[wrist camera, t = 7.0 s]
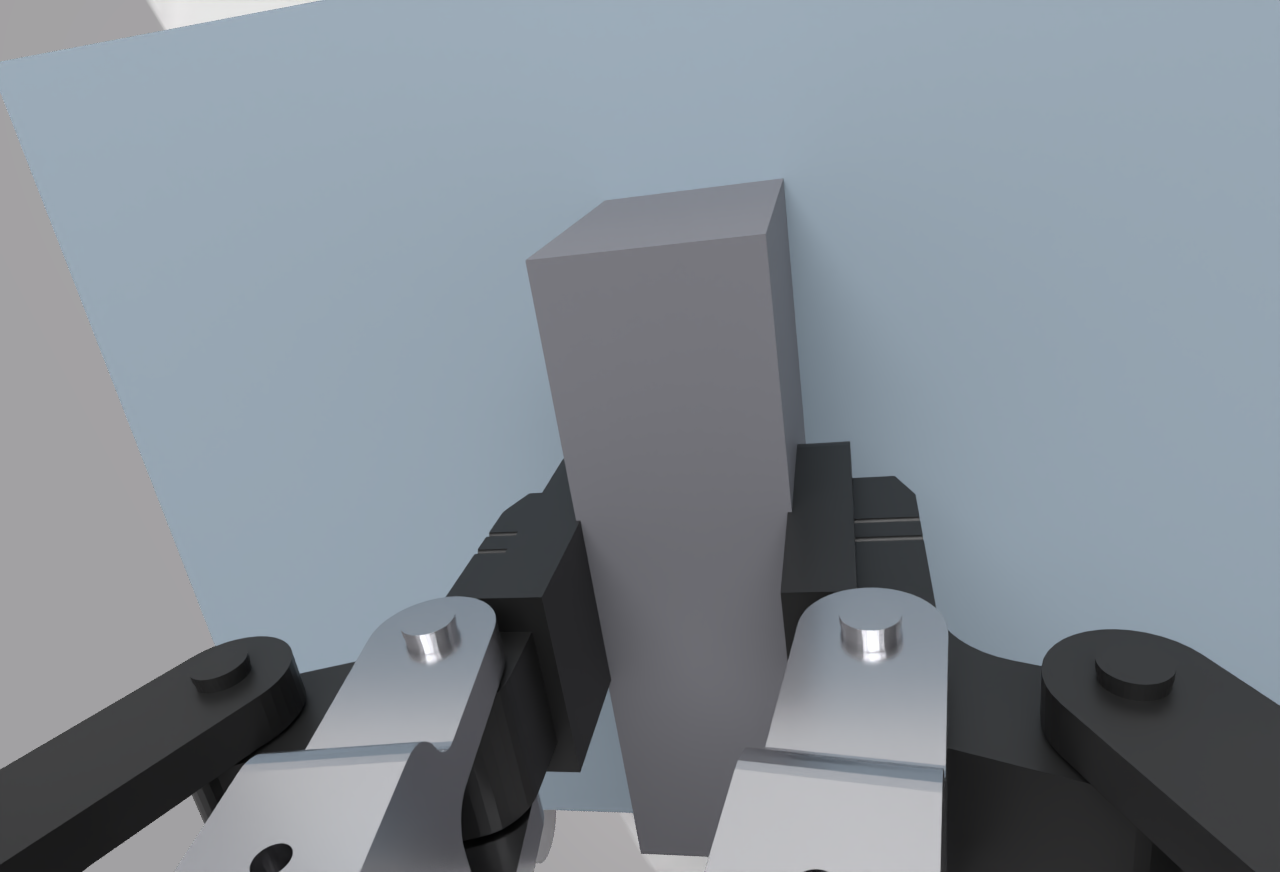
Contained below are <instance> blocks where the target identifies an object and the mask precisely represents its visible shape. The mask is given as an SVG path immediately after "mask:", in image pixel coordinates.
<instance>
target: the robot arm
mask: <svg viewBox="0 0 1280 872" xmlns="http://www.w3.org/2000/svg"><path fill="white" fill-rule="evenodd" d="M780 593H781V603H782V613H783V622H784V632H785V642H786V651H787V661H788V663H787V666H786V670H785V674H784V678H783V682H782V685H781V689H780V693H779V697H778V701H777V704H776V708H775V712H774V716H773V720H772V723H771V727H770V731H769V735H768V738H767V742H766V746H765V749H759V748H749V747H746V748H745V749H744V750H743V751H742V753H741V754H740V756H739V759H738V761H737V764H736V767H735V770H734V773H733V777H732V780H731V783H730V787H729V790H728V794H727V797H726V800H725V804H724V807H723V811H722V814H721V817H720V821H719V824H718V827H717V831H716V834H715V838H714V841H713V844H712V848H711V851H710V854H709V858H708V861H707V865H706V868H705V871H704V872H1280V705H1278V704H1277V703H1275V702H1274V701H1272V700H1271V699H1269V698H1268V697H1266V696H1265V695H1263V694H1262V693H1260V692H1259V691H1257V690H1256V689H1254V688H1253V687H1251V686H1250V685H1248V684H1247V683H1245V682H1243V681H1242V680H1240V679H1239V678H1237V677H1236V676H1234V675H1233V674H1231V673H1230V672H1228V671H1227V670H1225V669H1224V668H1222V667H1221V666H1219V665H1218V664H1216V663H1215V662H1213V661H1212V660H1210V659H1209V658H1207V657H1206V656H1204V655H1202V654H1201V653H1199V652H1197V651H1196V650H1194V649H1192V648H1190V647H1188V646H1186V645H1184V644H1181V643H1179V642H1177V641H1174V640H1171V639H1168V638H1165V637H1162V636H1158V635H1154V634H1150V633H1146V632H1140V631H1133V630H1121V629H1101V630H1093V631H1086V632H1082V633H1078V634H1074V635H1072V636H1069V637H1067V638H1064V639H1063V640H1061V641H1059V642H1058V643H1056V644H1055V645H1054V646H1053V647H1052V648H1050V649H1049V650H1048V652H1047V653H1046V655H1045V657H1044V658H1043V663H1042V666H1039V665H1034V664H1029V663H1024V662H1019V661H1014V660H1009V659H1005V658H1001V657H997V656H994V655H991V654H988V653H985V652H982V651H980V650H978V649H976V648H974V647H971V646H969V645H968V644H966V643H964V642H963V641H961V640H959V639H958V638H957V637H956V636H954V635H953V634H952V633H951V632H950V631H949V630H948V627H947V623H946V621H945V619H944V617H943V616H942V614H941V613H940V612H939V610H937V609H936V604H935V599H934V593H933V588H932V582H931V577H930V571H929V566H928V560H927V555H926V549H925V544H924V540H923V533H922V527H921V522H920V516H919V511H918V505H917V500H916V494H915V493H914V492H912V491H911V490H910V489H909V488H908V487H907V486H906V485H905V484H903V483H902V482H901V481H900V480H899V479H898V478H897V477H895V476H882V477H861V478H852V462H851V447H850V441H844V442H827V443H809V444H797V453H796V465H795V478H794V491H793V503H792V512H788V514H787V525H786V536H785V547H784V558H783V570H782V581H781V592H780ZM610 682H611V676H610V671H609V666H608V661H607V656H606V650H605V645H604V640H603V635H602V630H601V625H600V619H599V614H598V609H597V604H596V599H595V594H594V588H593V583H592V578H591V573H590V568H589V563H588V557H587V552H586V547H585V542H584V537H583V532H582V526H581V521H576V518H575V512H574V507H573V502H572V497H571V492H570V487H569V482H568V477H567V472H566V466H565V461H564V459H563V460H562V461H561V463H560V464H559V466H558V468H557V469H556V471H555V473H554V474H553V476H552V477H551V479H550V481H549V482H548V484H547V485H546V487H545V489H544V490H543V492H542V493H529V494H528V495H526V496H525V497H523V498H522V499H520V500H519V501H518V502H516V503H515V504H513V505H512V506H511V507H509V508H508V509H506V510H505V511H504V512H503V513H502V514H501V516H500V517H499V518H498V520H497V521H496V523H495V524H494V526H493V527H492V529H491V530H490V532H489V537H486V538H485V539H484V541H483V542H482V544H481V545H480V547H479V548H478V554H474V556H473V557H472V558H471V560H470V561H469V563H468V564H467V566H466V567H465V569H464V570H463V572H462V573H461V575H460V576H459V578H458V579H457V581H456V582H455V584H454V585H453V587H452V588H451V590H450V591H449V593H448V594H447V596H446V597H443V598H437V599H432V600H428V601H424V602H421V603H418V604H415V605H413V606H411V607H408V608H406V609H404V610H402V611H400V612H398V613H396V614H395V615H393V616H392V617H390V618H388V619H387V620H386V621H385V622H383V623H382V624H381V625H380V626H379V627H378V628H377V629H376V630H375V631H374V632H373V633H372V635H371V636H370V638H369V639H368V641H367V643H366V645H365V646H364V648H363V650H362V652H361V653H360V655H359V657H358V659H357V660H356V661H355V662H351V663H346V664H341V665H337V666H332V667H328V668H323V669H318V670H314V671H309V672H304V673H299V670H298V667H297V664H296V661H295V658H294V656H293V653H292V650H291V647H290V646H289V645H288V644H287V643H286V642H285V641H283V640H281V639H278V638H275V637H268V636H255V637H246V638H241V639H236V640H233V641H229V642H226V643H223V644H220V645H217V646H215V647H212V648H210V649H208V650H205V651H203V652H201V653H199V654H197V655H196V656H194V657H192V658H190V659H188V660H187V661H185V662H183V663H182V664H180V665H178V666H177V667H175V668H173V669H172V670H170V671H168V672H166V673H165V674H163V675H162V676H160V677H158V678H156V679H154V680H153V681H151V682H149V683H147V684H146V685H144V686H142V687H141V688H139V689H137V690H136V691H134V692H132V693H130V694H129V695H127V696H125V697H124V698H122V699H120V700H118V701H117V702H115V703H113V704H112V705H110V706H108V707H107V708H105V709H103V710H101V711H100V712H98V713H96V714H95V715H93V716H91V717H89V718H88V719H86V720H84V721H82V722H81V723H79V724H77V725H76V726H74V727H72V728H71V729H69V730H67V731H66V732H64V733H62V734H60V735H59V736H57V737H55V738H53V739H52V740H50V741H48V742H47V743H45V744H43V745H41V746H40V747H38V748H36V749H35V750H33V751H31V752H30V753H28V754H26V755H25V756H23V757H21V758H19V759H18V760H16V761H14V762H12V763H11V764H9V765H8V766H6V767H4V768H2V769H0V872H82V871H84V870H85V869H86V868H87V867H89V866H90V865H91V864H93V863H94V862H95V861H97V860H99V859H100V858H101V857H103V856H104V855H106V854H107V853H109V852H110V851H112V850H113V849H114V848H116V847H117V846H119V845H120V844H122V843H123V842H124V841H126V840H127V839H129V838H130V837H132V836H133V835H135V834H136V833H137V832H139V831H140V830H142V829H143V828H145V827H146V826H147V825H149V824H150V823H152V822H153V821H155V820H156V819H158V818H159V817H160V816H162V815H163V814H165V813H166V812H168V811H169V810H170V809H172V808H173V807H175V806H176V805H178V804H179V803H181V802H182V801H183V800H185V799H186V798H188V797H189V796H190V795H192V796H193V799H194V801H195V803H196V805H197V808H198V810H199V812H200V815H201V817H202V819H203V821H204V826H203V828H202V829H201V831H200V832H199V834H198V835H197V837H196V838H195V840H194V841H193V843H192V845H191V846H190V848H189V849H188V851H187V852H186V854H185V855H184V857H183V859H182V860H181V862H180V863H179V865H178V866H177V868H176V869H175V871H174V872H534V868H535V864H536V859H537V854H538V850H539V845H540V840H541V835H542V831H543V826H544V811H543V806H542V802H541V798H540V794H539V790H540V787H541V785H542V782H543V779H544V777H545V774H546V772H581V769H582V766H583V763H584V760H585V757H586V754H587V751H588V748H589V745H590V742H591V739H592V736H593V733H594V730H595V727H596V724H597V721H598V718H599V715H600V712H601V709H602V706H603V703H604V700H605V697H606V694H607V691H608V688H609V685H610Z"/></svg>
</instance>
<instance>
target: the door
mask: <svg viewBox="0 0 1280 872" xmlns="http://www.w3.org/2000/svg"><path fill="white" fill-rule="evenodd" d="M0 93H1V95H2V98H3V100H4V103H5V105H6V108H7V110H8V113H9V116H10V118H11V121H12V123H13V126H14V129H15V131H16V133H17V136H18V139H19V142H20V144H21V147H22V149H23V152H24V154H25V157H26V160H27V162H28V165H29V167H30V170H31V172H32V175H33V178H34V180H35V183H36V185H37V188H38V190H39V193H40V196H41V198H42V201H43V203H44V206H45V209H46V211H47V214H48V216H49V219H50V221H51V224H52V227H53V229H54V232H55V234H56V237H57V239H58V242H59V245H60V247H61V250H62V252H63V255H64V257H65V260H66V262H67V265H68V268H69V270H70V273H71V275H72V278H73V281H74V283H75V285H76V288H77V291H78V294H79V296H80V299H81V301H82V304H83V306H84V309H85V312H86V314H87V316H88V319H89V322H90V325H91V327H92V330H93V332H94V335H95V337H96V340H97V343H98V345H99V348H100V350H101V353H102V355H103V358H104V361H105V363H106V366H107V368H108V371H109V373H110V376H111V379H112V381H113V384H114V386H115V389H116V391H117V394H118V397H119V399H120V401H121V404H122V407H123V410H124V412H125V414H126V417H127V420H128V422H129V425H130V428H131V430H132V433H133V435H134V438H135V440H136V443H137V445H138V448H139V451H140V453H141V456H142V458H143V461H144V464H145V466H146V469H147V471H148V474H149V476H150V479H151V482H152V484H153V487H154V489H155V492H156V495H157V497H158V500H159V502H160V505H161V507H162V510H163V513H164V515H165V518H166V520H167V523H168V525H169V528H170V530H171V533H172V536H173V538H174V541H175V543H176V546H177V549H178V551H179V554H180V556H181V559H182V562H183V564H184V567H185V569H186V572H187V574H188V577H189V580H190V582H191V585H192V587H193V590H194V592H195V595H196V597H197V600H198V603H199V605H200V608H201V610H202V613H203V616H204V618H205V621H206V623H207V626H208V629H209V631H210V634H211V636H212V639H213V641H214V644H215V646H217V645H220V644H223V643H226V642H229V641H233V640H236V639H241V638H246V637H255V636H268V637H275V638H278V639H281V640H283V641H285V642H286V643H287V644H288V645H289V646H290V647H291V650H292V653H293V656H294V658H295V661H296V664H297V667H298V670H299V673H304V672H309V671H314V670H318V669H323V668H328V667H332V666H337V665H341V664H346V663H351V662H355V661H356V660H357V659H358V657H359V655H360V653H361V652H362V650H363V648H364V646H365V645H366V643H367V641H368V639H369V638H370V636H371V635H372V633H373V632H374V631H375V630H376V629H377V628H378V627H379V626H380V625H381V624H382V623H383V622H385V621H386V620H387V619H388V618H390V617H392V616H393V615H395V614H396V613H398V612H400V611H402V610H404V609H406V608H408V607H411V606H413V605H415V604H418V603H421V602H424V601H428V600H432V599H437V598H443V597H446V596H447V594H448V593H449V591H450V590H451V588H452V587H453V585H454V584H455V582H456V581H457V579H458V578H459V576H460V575H461V573H462V572H463V570H464V569H465V567H466V566H467V564H468V563H469V561H470V560H471V558H472V557H473V556H474V554H478V548H479V547H480V545H481V544H482V542H483V541H484V539H485V538H486V537H489V532H490V530H491V529H492V527H493V526H494V524H495V523H496V521H497V520H498V518H499V517H500V516H501V514H502V513H503V512H504V511H505V510H506V509H508V508H509V507H511V506H512V505H513V504H515V503H516V502H518V501H519V500H520V499H522V498H523V497H525V496H526V495H528V494H529V493H542V492H543V490H544V489H545V487H546V485H547V484H548V482H549V481H550V479H551V477H552V476H553V474H554V473H555V471H556V469H557V468H558V466H559V464H560V463H561V461H562V460H563V459H564V461H565V466H566V472H567V477H568V482H569V487H570V492H571V497H572V502H573V507H574V512H575V518H576V521H581V526H582V532H583V537H584V542H585V547H586V552H587V557H588V563H589V568H590V573H591V578H592V583H593V588H594V594H595V599H596V604H597V609H598V614H599V619H600V625H601V630H602V635H603V640H604V645H605V650H606V656H607V661H608V666H609V671H610V676H611V682H610V685H609V688H608V691H607V694H606V697H605V700H604V703H603V706H602V709H601V712H600V715H599V718H598V721H597V724H596V727H595V730H594V733H593V736H592V739H591V742H590V745H589V748H588V751H587V754H586V757H585V760H584V763H583V766H582V769H581V772H546V774H545V777H544V779H543V782H542V785H541V787H540V790H539V794H540V798H541V802H542V806H543V811H544V826H543V831H542V835H541V840H540V845H539V850H538V854H537V859H536V863H542V862H543V861H544V860H545V859H546V857H547V856H548V854H549V851H550V848H551V845H552V841H553V836H554V830H555V821H556V810H571V811H598V812H626V813H633V814H634V819H635V825H636V830H637V835H638V840H639V845H640V850H641V854H663V855H684V856H706V857H709V854H710V851H711V848H712V844H713V841H714V838H715V834H716V831H717V827H718V824H719V821H720V817H721V814H722V811H723V807H724V804H725V800H726V797H727V794H728V790H729V787H730V783H731V780H732V777H733V773H734V770H735V767H736V764H737V761H738V759H739V756H740V754H741V753H742V751H743V750H744V749H745V748H746V747H749V748H759V749H765V746H766V742H767V738H768V735H769V731H770V727H771V723H772V720H773V716H774V712H775V708H776V704H777V701H778V697H779V693H780V689H781V685H782V682H783V678H784V674H785V670H786V666H787V663H788V661H787V651H786V642H785V632H784V622H783V613H782V603H781V593H780V592H781V581H782V570H783V558H784V547H785V536H786V525H787V514H788V512H792V503H793V491H794V478H795V465H796V453H797V444H809V443H827V442H844V441H850V447H851V462H852V478H861V477H882V476H895V477H897V478H898V479H899V480H900V481H901V482H902V483H903V484H905V485H906V486H907V487H908V488H909V489H910V490H911V491H912V492H914V493H915V494H916V500H917V505H918V511H919V516H920V522H921V527H922V533H923V540H924V544H925V549H926V555H927V560H928V566H929V571H930V577H931V582H932V588H933V593H934V599H935V604H936V609H937V610H939V612H940V613H941V614H942V616H943V617H944V619H945V621H946V623H947V627H948V630H949V631H950V632H951V633H952V634H953V635H954V636H956V637H957V638H958V639H959V640H961V641H963V642H964V643H966V644H968V645H969V646H971V647H974V648H976V649H978V650H980V651H982V652H985V653H988V654H991V655H994V656H997V657H1001V658H1005V659H1009V660H1014V661H1019V662H1024V663H1029V664H1034V665H1039V666H1042V663H1043V658H1044V657H1045V655H1046V653H1047V652H1048V650H1049V649H1050V648H1052V647H1053V646H1054V645H1055V644H1056V643H1058V642H1059V641H1061V640H1063V639H1064V638H1067V637H1069V636H1072V635H1074V634H1078V633H1082V632H1086V631H1093V630H1101V629H1121V630H1133V631H1140V632H1146V633H1150V634H1154V635H1158V636H1162V637H1165V638H1168V639H1171V640H1174V641H1177V642H1179V643H1181V644H1184V645H1186V646H1188V647H1190V648H1192V649H1194V650H1196V651H1197V652H1199V653H1201V654H1202V655H1204V656H1206V657H1207V658H1209V659H1210V660H1212V661H1213V662H1215V663H1216V664H1218V665H1219V666H1221V667H1222V668H1224V669H1225V670H1227V671H1228V672H1230V673H1231V674H1233V675H1234V676H1236V677H1237V678H1239V679H1240V680H1242V681H1243V682H1245V683H1247V684H1248V685H1250V686H1251V687H1253V688H1254V689H1256V690H1257V691H1259V692H1260V693H1262V694H1263V695H1265V696H1266V697H1268V698H1269V699H1271V700H1272V701H1274V702H1275V703H1277V704H1278V705H1280V0H321V1H316V2H311V3H305V4H300V5H295V6H290V7H284V8H279V9H274V10H269V11H263V12H258V13H253V14H248V15H242V16H237V17H232V18H227V19H221V20H216V21H211V22H206V23H200V24H195V25H190V26H185V27H179V28H174V29H169V30H164V31H158V32H153V33H148V34H143V35H137V36H133V37H127V38H122V39H116V40H112V41H106V42H101V43H96V44H90V45H85V46H80V47H74V48H69V49H64V50H59V51H54V52H48V53H43V54H38V55H33V56H27V57H22V58H17V59H12V60H7V61H1V62H0Z"/></svg>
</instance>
